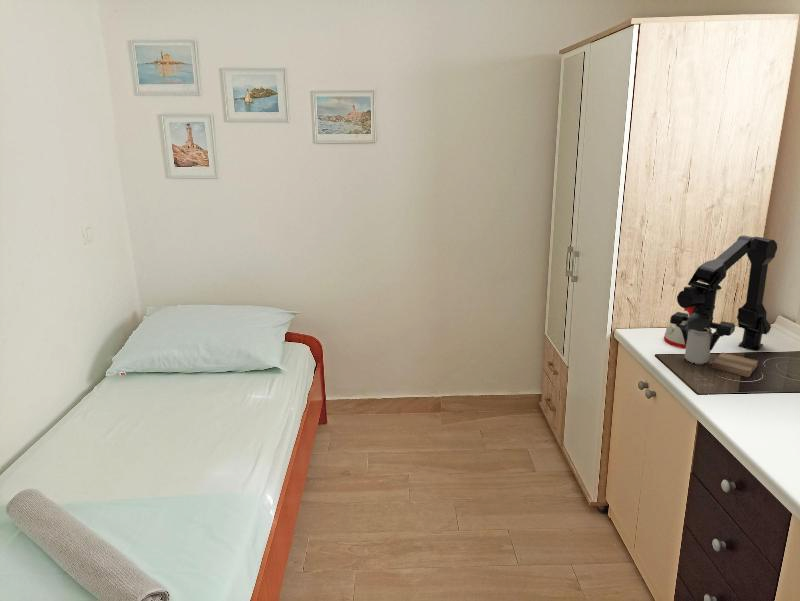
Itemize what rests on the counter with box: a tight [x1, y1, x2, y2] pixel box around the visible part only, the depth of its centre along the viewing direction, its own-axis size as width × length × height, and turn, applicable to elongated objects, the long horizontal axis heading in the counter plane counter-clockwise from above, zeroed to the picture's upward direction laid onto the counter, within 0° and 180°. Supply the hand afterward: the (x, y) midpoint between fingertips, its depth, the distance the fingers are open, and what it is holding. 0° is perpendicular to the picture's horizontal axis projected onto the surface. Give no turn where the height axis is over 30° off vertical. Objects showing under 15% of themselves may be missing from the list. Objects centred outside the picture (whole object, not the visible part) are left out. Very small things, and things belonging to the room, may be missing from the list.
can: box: [684, 328, 714, 365], centre depth 202 cm, size 8×8×12 cm
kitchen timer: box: [663, 307, 694, 350], centre depth 218 cm, size 14×14×15 cm
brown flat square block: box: [711, 352, 759, 378], centre depth 199 cm, size 11×11×2 cm
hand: (698, 347), depth 202 cm, fingers closed on can, 7 cm apart
